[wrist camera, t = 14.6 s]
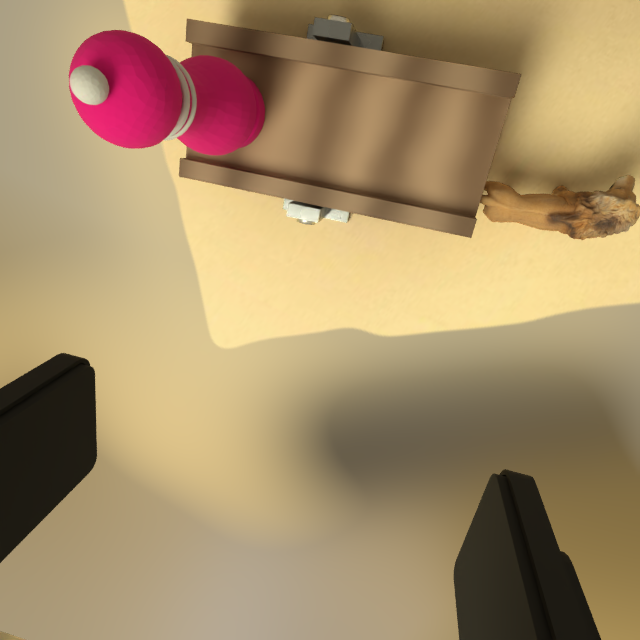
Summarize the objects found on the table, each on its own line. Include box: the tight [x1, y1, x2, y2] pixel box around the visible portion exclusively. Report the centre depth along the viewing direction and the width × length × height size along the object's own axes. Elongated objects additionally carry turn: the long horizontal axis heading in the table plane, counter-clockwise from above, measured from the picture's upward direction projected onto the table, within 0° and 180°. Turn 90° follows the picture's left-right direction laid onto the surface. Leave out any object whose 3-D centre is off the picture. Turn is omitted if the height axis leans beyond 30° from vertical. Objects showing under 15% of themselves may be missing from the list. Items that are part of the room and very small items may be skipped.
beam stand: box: [283, 15, 384, 225], centre depth 42 cm, size 7×17×7 cm, turn 170°
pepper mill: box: [69, 30, 265, 156], centre depth 31 cm, size 7×7×20 cm
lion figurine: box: [480, 175, 640, 240], centre depth 40 cm, size 15×5×9 cm, turn 93°
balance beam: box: [179, 19, 521, 238], centre depth 39 cm, size 27×13×3 cm, turn 80°
